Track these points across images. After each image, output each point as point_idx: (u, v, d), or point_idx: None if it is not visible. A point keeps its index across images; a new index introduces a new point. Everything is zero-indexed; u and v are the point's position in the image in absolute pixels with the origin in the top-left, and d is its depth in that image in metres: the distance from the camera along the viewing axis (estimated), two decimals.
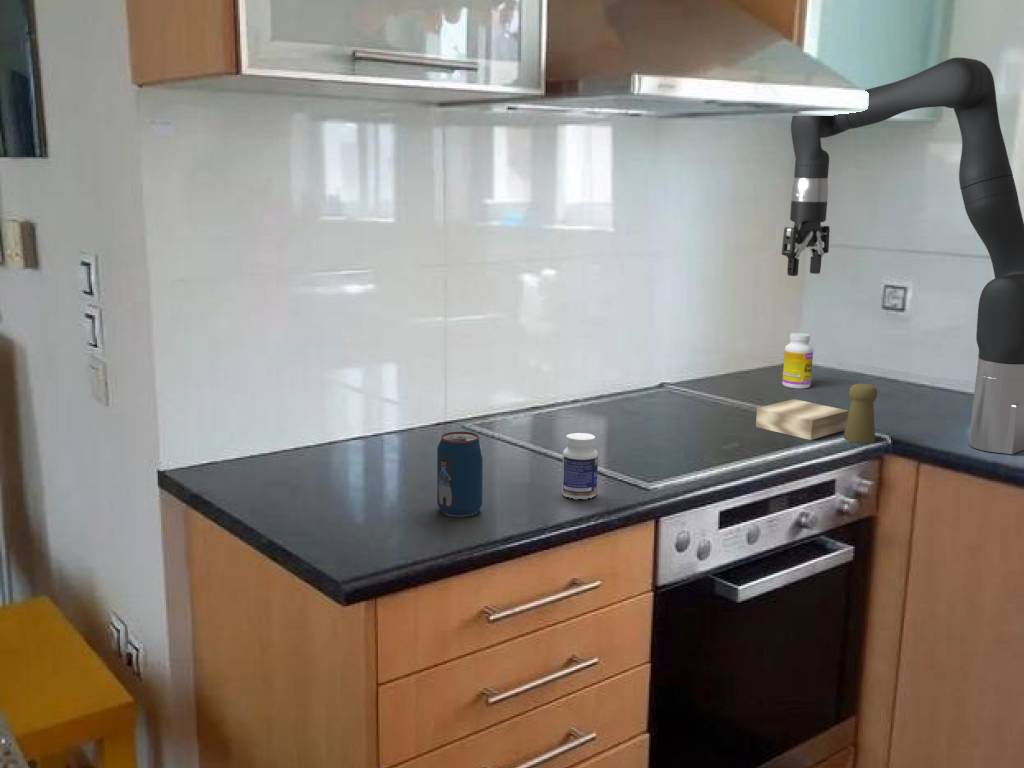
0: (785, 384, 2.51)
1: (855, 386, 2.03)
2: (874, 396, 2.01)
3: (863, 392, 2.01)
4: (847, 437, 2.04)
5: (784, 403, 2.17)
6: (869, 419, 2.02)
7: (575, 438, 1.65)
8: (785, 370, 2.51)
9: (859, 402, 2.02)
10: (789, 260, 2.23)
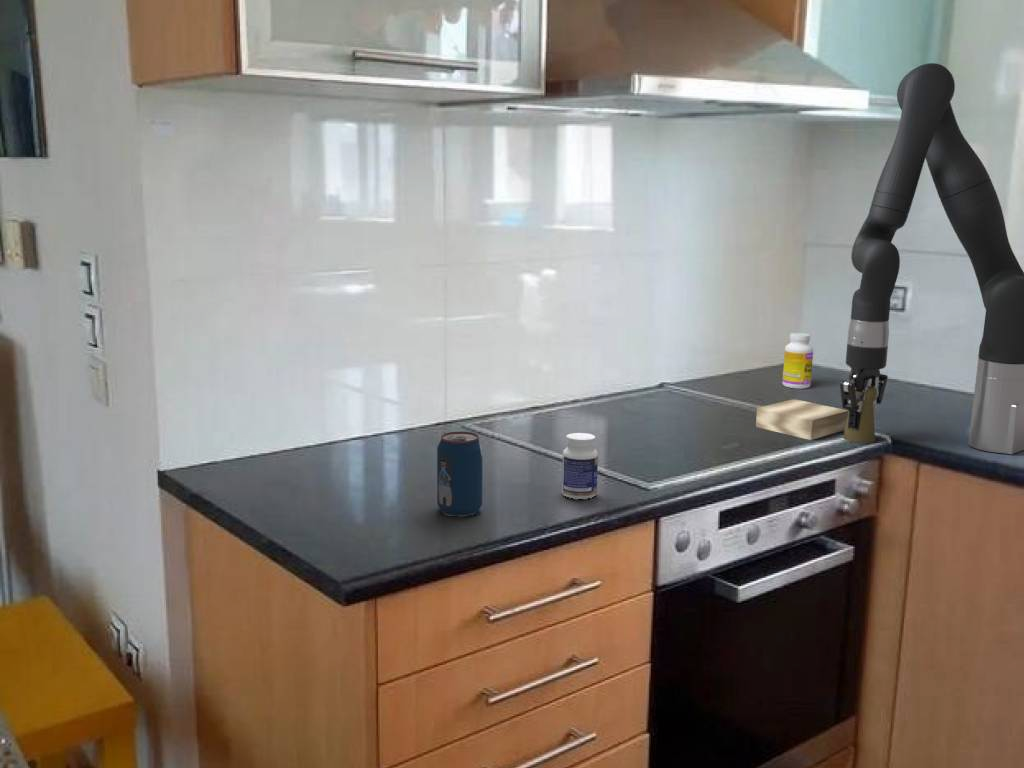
0: (785, 384, 2.51)
1: None
2: (874, 396, 2.01)
3: None
4: (847, 437, 2.04)
5: (784, 403, 2.17)
6: (869, 419, 2.02)
7: (575, 438, 1.65)
8: (785, 370, 2.51)
9: None
10: (850, 413, 2.02)
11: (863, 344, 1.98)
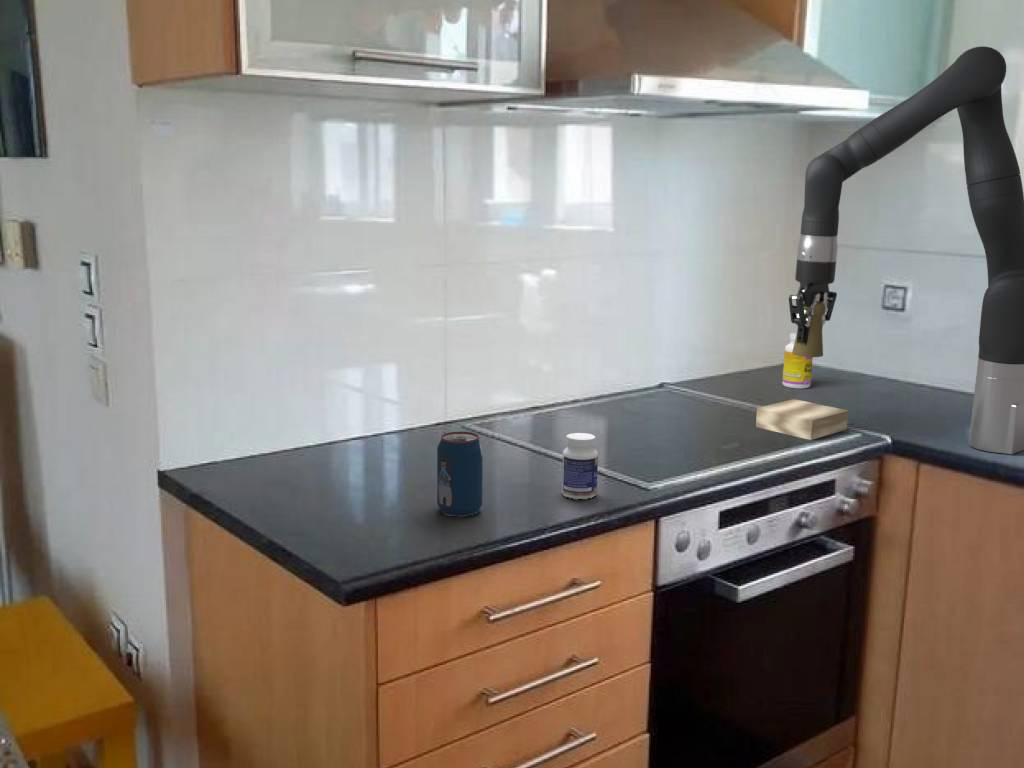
0: (785, 384, 2.51)
1: None
2: (822, 311, 2.05)
3: None
4: (795, 352, 2.08)
5: (784, 403, 2.17)
6: (817, 334, 2.06)
7: (575, 438, 1.65)
8: (785, 370, 2.51)
9: None
10: (799, 328, 2.06)
11: (811, 258, 2.02)
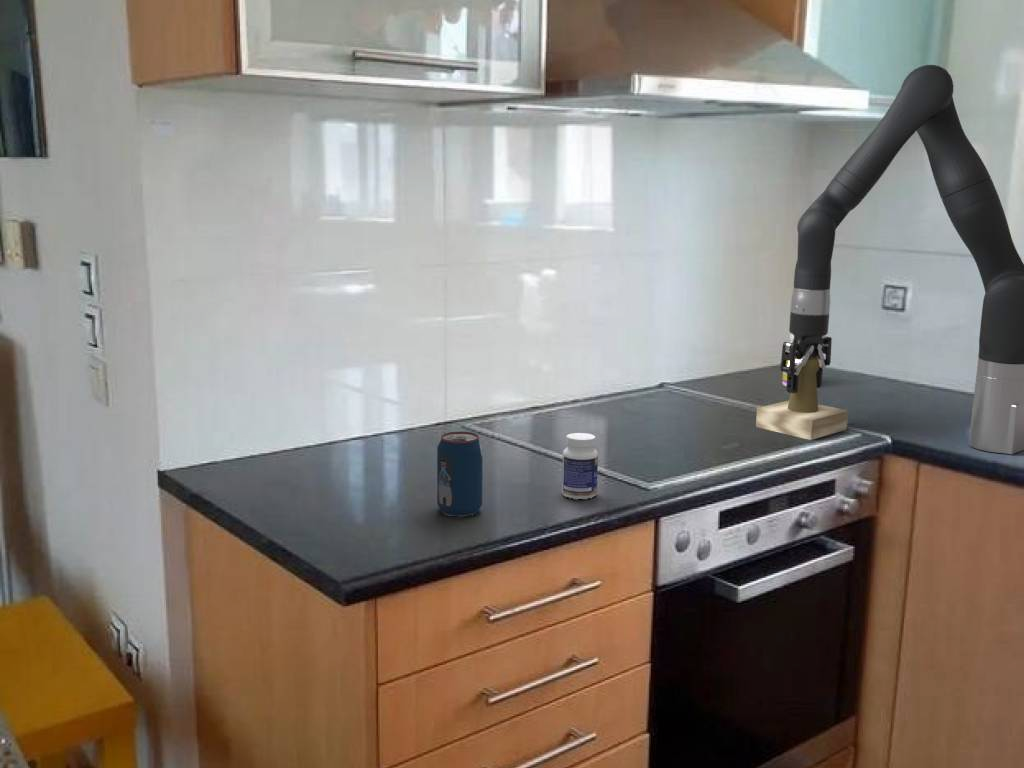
0: (785, 384, 2.51)
1: None
2: (816, 367, 2.08)
3: (806, 363, 2.08)
4: (791, 407, 2.11)
5: (784, 403, 2.17)
6: (812, 390, 2.09)
7: (575, 438, 1.65)
8: None
9: (802, 373, 2.09)
10: (788, 376, 2.07)
11: (805, 312, 2.04)
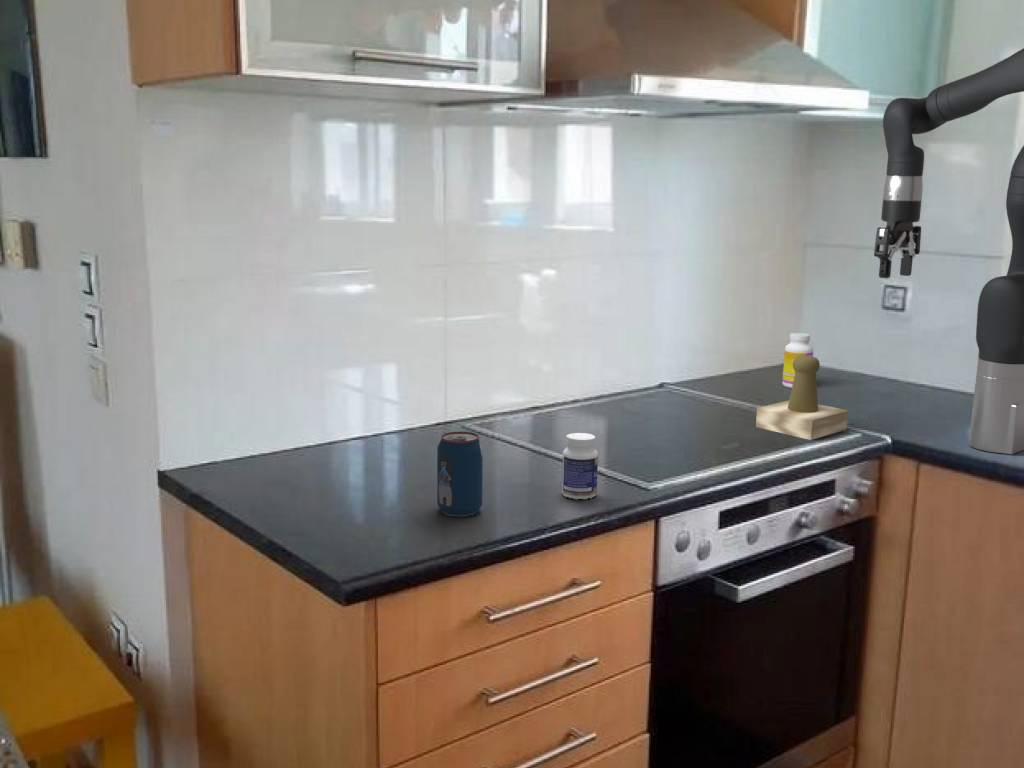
0: (785, 384, 2.51)
1: (798, 358, 2.09)
2: (816, 367, 2.08)
3: (806, 363, 2.08)
4: (791, 407, 2.11)
5: (784, 403, 2.17)
6: (812, 390, 2.09)
7: (575, 438, 1.65)
8: (785, 370, 2.51)
9: (802, 373, 2.09)
10: (881, 262, 2.14)
11: (898, 198, 2.11)
